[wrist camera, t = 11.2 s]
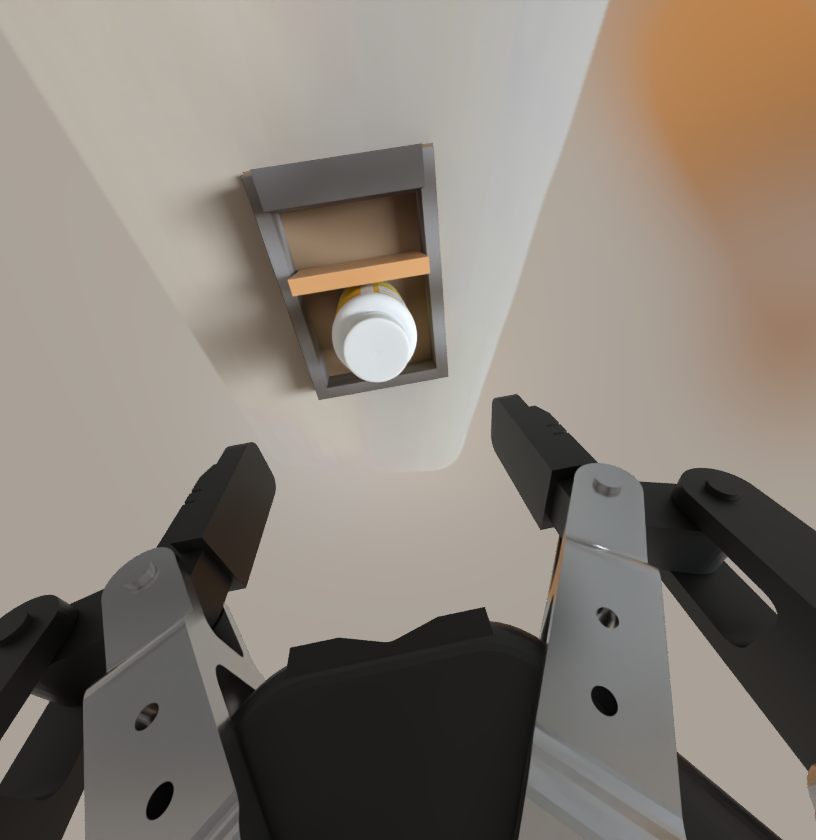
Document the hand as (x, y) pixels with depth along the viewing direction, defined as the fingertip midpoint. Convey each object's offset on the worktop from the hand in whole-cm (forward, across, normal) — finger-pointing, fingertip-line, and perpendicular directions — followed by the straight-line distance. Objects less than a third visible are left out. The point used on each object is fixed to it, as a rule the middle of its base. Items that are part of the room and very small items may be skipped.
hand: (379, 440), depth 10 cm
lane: (+20, 0, -1) cm, 20 cm away
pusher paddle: (+19, 0, -3) cm, 19 cm away
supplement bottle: (+19, 0, 0) cm, 19 cm away
